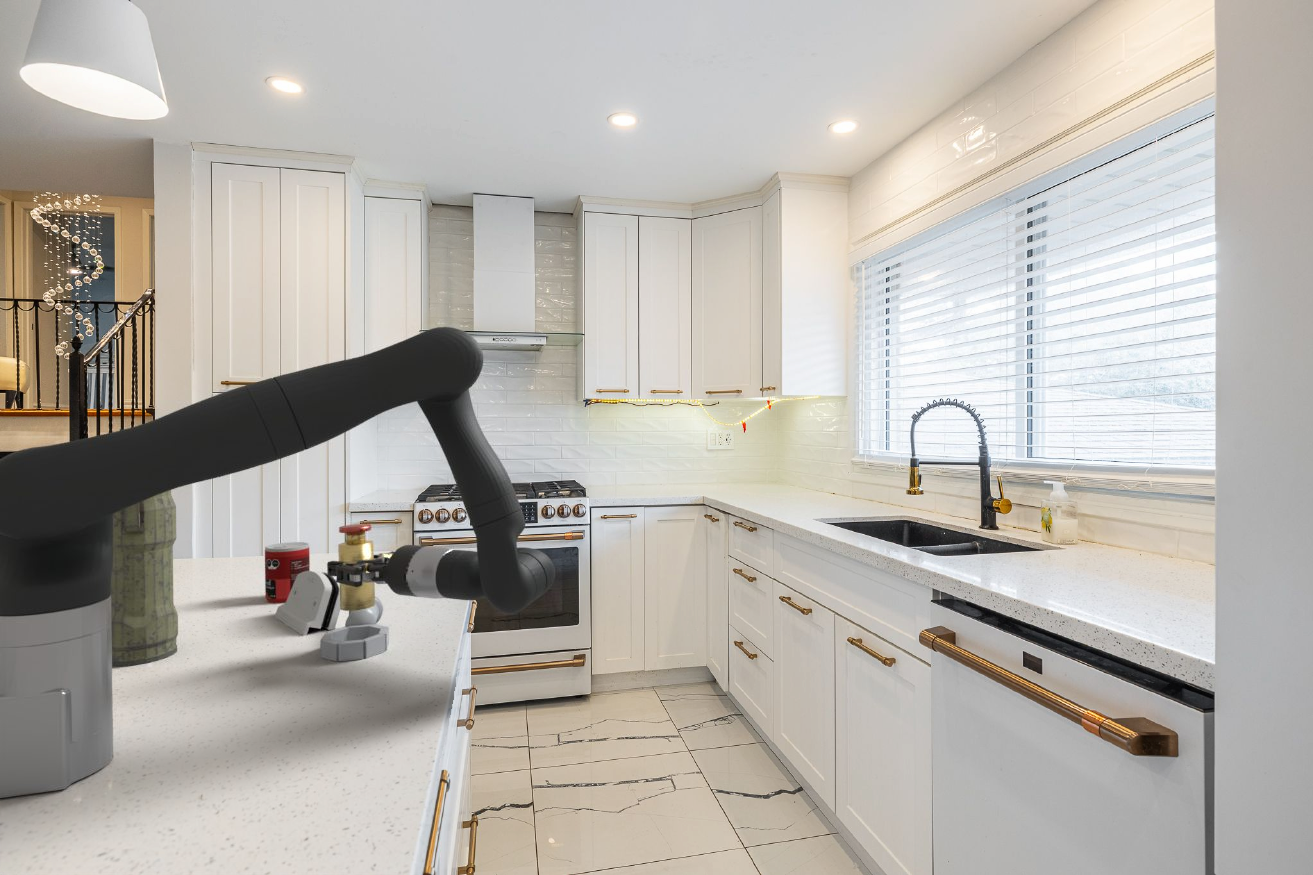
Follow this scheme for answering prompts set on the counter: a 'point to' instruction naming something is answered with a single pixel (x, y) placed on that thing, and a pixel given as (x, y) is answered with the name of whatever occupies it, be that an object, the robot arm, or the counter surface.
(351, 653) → the grey octagonal holder
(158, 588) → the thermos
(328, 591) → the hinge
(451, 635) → the counter surface
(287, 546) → the canned food
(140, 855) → the counter surface
